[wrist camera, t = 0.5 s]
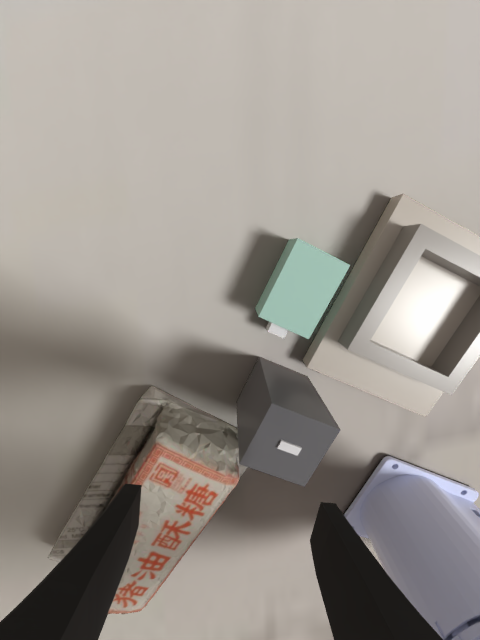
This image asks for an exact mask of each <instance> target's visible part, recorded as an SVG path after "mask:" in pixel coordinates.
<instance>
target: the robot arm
mask: <svg viewBox="0 0 480 640" xmlns="http://www.w3.org/2000/svg"><path fill="white" fill-rule="evenodd" d="M141 488H142V485H135V484H125V485H123V486H122V487H121V489H120V490H119V492H118V493H117V494H116V496H115V497H114V498H113V500H112V501H111V502H110V504H109V505H108V506H107V508H106V509H105V510H104V511H103V513H102V514H101V515H100V516H99V518H98V519H97V520H96V521H95V522H94V524H93V525H92V526H91V527H90V528H89V530H88V531H87V532H86V533H85V534H84V536H83V537H82V538H81V539H80V540H79V541H78V543H77V544H76V545H75V546H74V547H73V548H72V549H71V550H70V551H69V553H68V554H67V555H66V556H65V557H64V558H63V559H62V560H61V561H60V562H59V564H58V565H57V566H56V567H55V568H54V569H53V570H52V571H51V572H50V573H49V574H48V575H47V576H46V577H45V578H44V580H43V581H42V582H41V583H40V584H39V585H38V586H37V587H36V588H35V589H34V590H33V591H32V592H31V593H30V594H29V595H28V596H27V597H26V598H25V599H24V600H23V601H22V602H21V603H20V604H19V605H18V606H17V607H16V608H15V609H14V610H13V611H11V612H10V613H9V614H8V615H7V616H6V617H5V618H4V619H3V620H2V621H1V622H0V640H98V638H99V635H100V633H101V630H102V628H103V625H104V622H105V620H106V617H107V615H108V612H109V609H110V607H111V604H112V602H113V599H114V597H115V594H116V591H117V589H118V586H119V584H120V581H121V578H122V576H123V573H124V571H125V568H126V565H127V563H128V560H129V557H130V554H131V550H132V547H133V544H134V540H135V537H136V533H137V530H138V526H139V515H140V501H141ZM478 495H479V494H478V492H477V491H476V490H475V489H474V488H471V487H469V486H466V485H464V484H461V483H458V482H456V481H453V480H451V479H448V478H445V477H443V476H440V475H437V474H435V473H432V472H430V471H427V470H424V469H422V468H419V467H417V466H414V465H411V464H409V463H406V462H404V461H401V460H398V459H396V458H393V457H390V456H387V457H384V458H383V459H382V461H381V462H380V464H379V465H378V466H377V468H376V469H375V471H374V472H373V474H372V475H371V477H370V478H369V479H368V481H367V482H366V484H365V485H364V487H363V488H362V489H361V491H360V492H359V494H358V495H357V497H356V498H355V500H354V501H353V502H352V504H351V505H350V507H349V508H348V510H347V511H346V513H345V514H344V515H343V513H342V512H341V511H340V509H339V508H338V507H337V505H336V504H333V503H323V502H321V504H320V507H319V511H318V514H317V518H316V521H315V525H314V528H313V532H312V535H311V539H310V543H311V549H312V555H313V561H314V566H315V571H316V576H317V579H318V583H319V587H320V590H321V594H322V598H323V601H324V605H325V608H326V612H327V616H328V619H329V623H330V626H331V630H332V633H333V637H334V640H480V509H479V508H478V507H477V506H476V505H475V504H474V501H475V500H476V499H477V498H478ZM358 535H359V536H362V537H365V538H368V539H370V541H371V543H372V545H373V547H374V549H375V551H376V553H377V555H378V557H379V560H380V562H381V564H382V566H383V568H384V569H383V568H382V566H381V565H380V564H379V562H378V561H377V560H376V559H375V557H374V556H373V555H372V553H371V552H370V551H369V549H368V548H367V547H366V545H365V544H364V543H363V541H362V540H361V538H360V537H359V536H358Z"/></svg>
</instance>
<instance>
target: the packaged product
mask: <svg viewBox="0 0 480 640" xmlns="http://www.w3.org/2000/svg"><path fill="white" fill-rule="evenodd" d="M246 469H247V467H246V466H243V465H240V464H239V448H238V428H236V427H234V426H232V425H230V424H228V423H226V422H224V421H222V420H220V419H218V418H216V417H214V416H212V415H211V414H208V413H206V412H204V411H202V410H199V409H198V408H196V407H194V406H192V405H190V404H188V403H186V402H184V401H182V400H180V399H178V398H176V397H174V396H172V395H170V394H168V393H166V392H164V391H162V390H160V389H158V388H156V387H154V386H151V387H150V388H149V389H148V390H147V391H146V392H145V393H144V395H143V396H142V397H141V398H140V399H139V401H138V402H137V404H136V405H135V407H134V409H133V411H132V413H131V415H130V417H129V419H128V420H127V422H126V424H125V426H124V428H123V429H122V431H121V433H120V434H119V436H118V437H117V439H116V441H115V442H114V444H113V445H112V447H111V449H110V450H109V452H108V454H107V456H106V457H105V459H104V461H103V463H102V465H101V467H100V469H99V470H98V472H97V473H96V475H95V476H94V478H93V479H92V481H91V483H90V484H89V486H88V487H87V489H86V491H85V493H84V495H83V497H82V498H81V500H80V502H79V503H78V505H77V507H76V509H75V510H74V512H73V514H72V515H71V517H70V519H69V520H68V522H67V524H66V525H65V527H64V529H63V530H62V532H61V534H60V536H59V538H58V539H57V541H56V543H55V545H54V547H53V549H52V551H51V553H50V555H49V557H48V558H49V559H51V560H54V561H57V562H60V561H61V560H62V559H63V558H64V557H65V556H66V555H67V554H68V553H69V551H70V550H71V549H72V548H73V547H74V546H75V545H76V544H77V543H78V541H79V540H80V539H81V538H82V537H83V536H84V534H85V533H86V532H87V531H88V530H89V528H90V527H91V526H92V525H93V524H94V522H95V521H96V520H97V519H98V518H99V516H100V515H101V514H102V513H103V511H104V510H105V509H106V508H107V506H108V505H109V504H110V502H111V501H112V500H113V498H114V497H115V496H116V494H117V493H118V492H119V490H120V489H121V487H122V486H123V485H125V484H135V485H142V488H141V501H140V515H139V526H138V530H137V533H136V537H135V540H134V544H133V547H132V550H131V554H130V557H129V560H128V563H127V565H126V568H125V571H124V573H123V576H122V578H121V581H120V584H119V586H118V589H117V591H116V594H115V597H114V599H113V602H112V604H111V607H110V609H109V612H108V614H112V613H115V614H119V613H121V614H126V613H132V612H138V611H141V610H142V609H143V608H144V607H145V606H146V605H147V604H148V602H149V601H150V600H151V599H152V597H153V596H154V595H155V594H156V593H157V591H158V589H159V588H160V587H161V585H162V584H163V583H164V581H165V580H166V579H167V577H168V576H169V575H170V573H171V572H172V571H173V569H174V568H175V566H176V565H177V564H178V563H179V561H180V560H181V558H182V557H183V556H184V555H185V553H186V552H187V550H188V549H189V548H190V546H191V545H192V543H193V542H194V541H195V539H196V538H197V537H198V535H199V534H200V533H201V532H202V530H203V529H204V528H205V526H206V525H207V523H208V522H209V521H210V520H211V518H212V517H213V516H214V514H215V513H216V511H217V510H218V509H219V507H220V506H221V505H222V504H223V503H224V501H225V499H226V498H227V496H228V495H229V494H230V492H231V491H232V490H233V489H234V488H235V486H236V485H237V483H238V482H239V478H240V477H241V475H242V474H243V473H244V471H245V470H246Z"/></svg>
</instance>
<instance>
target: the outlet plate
mask: <svg viewBox="0 0 480 640" xmlns="http://www.w3.org/2000/svg"><path fill="white" fill-rule="evenodd" d="M479 357H480V236H479V235H477V234H475V233H473V232H471V231H470V230H468V229H466V228H464V227H462V226H461V225H459V224H457V223H455V222H453V221H452V220H450V219H448V218H446V217H444V216H443V215H441V214H439V213H437V212H435V211H434V210H432V209H430V208H428V207H426V206H425V205H423V204H421V203H419V202H417V201H416V200H414V199H412V198H410V197H408V196H407V195H405V194H401V195H398V196H395V197H392V198H391V199H390V201H389V203H388V205H387V207H386V208H385V210H384V212H383V214H382V216H381V218H380V219H379V221H378V223H377V225H376V227H375V229H374V230H373V232H372V234H371V236H370V238H369V239H368V241H367V243H366V245H365V247H364V249H363V250H362V252H361V254H360V256H359V258H358V260H357V261H356V263H355V265H354V267H353V269H352V271H351V272H350V274H349V276H348V278H347V280H346V282H345V283H344V285H343V287H342V289H341V291H340V292H339V294H338V296H337V298H336V300H335V302H334V303H333V305H332V307H331V309H330V311H329V313H328V314H327V316H326V318H325V320H324V322H323V324H322V325H321V327H320V329H319V331H318V333H317V335H316V336H315V338H314V340H313V342H312V344H311V345H310V347H309V349H308V351H307V353H306V355H305V356H304V358H303V360H302V361H303V362H304V364H305V365H306V367H307V368H309V369H312V370H314V371H317V372H319V373H321V374H324V375H326V376H328V377H331V378H333V379H336V380H338V381H340V382H343V383H345V384H348V385H350V386H352V387H355V388H357V389H360V390H362V391H364V392H367V393H369V394H372V395H374V396H376V397H379V398H381V399H383V400H386V401H388V402H391V403H393V404H395V405H398V406H400V407H403V408H405V409H407V410H410V411H412V412H415V413H417V414H419V415H422V416H424V417H426V416H427V415H428V413H429V412H430V411H431V409H432V408H433V406H434V405H435V403H436V402H437V401H438V399H439V398H440V396H441V395H442V394H443V392H445V393H447V394H449V395H452V394H453V393H454V391H455V390H456V389H457V387H458V386H459V384H460V383H461V382H462V380H463V379H464V378H465V376H466V375H467V373H468V372H469V371H470V369H471V368H472V366H473V365H474V364H475V362H476V361H477V359H478V358H479Z"/></svg>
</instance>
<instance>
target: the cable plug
mask: <svg viewBox="0 0 480 640" xmlns="http://www.w3.org/2000/svg"><path fill="white" fill-rule="evenodd" d="M349 267H350V265H349V264H347V263H345V262H343V261H341V260H339V259H337V258H335V257H333V256H332V255H330V254H328V253H326V252H324V251H322V250H320V249H318V248H316V247H314V246H312V245H310V244H308V243H306V242H304V241H302V240H300V239H298V238H296V239H290V240H289V241H288V243H287V245H286V247H285V249H284V251H283V253H282V255H281V257H280V259H279V261H278V263H277V265H276V267H275V269H274V271H273V273H272V275H271V277H270V279H269V281H268V283H267V285H266V287H265V289H264V291H263V293H262V295H261V297H260V299H259V302H258V304H257V306H256V308H255V309H256V312H257V314H258V317H260V318H263V319H265V320H267V321H269V323H268V325H267V327H266V329H267V331H268V332H270V333H272V334H274V335H277V336H279V337H281V338H283V339H284V338H285V336H286V334H287V332H288V330H289V331H291V332H294V333H296V334H298V335H300V336H302V337H305V338H307V339H309V338H310V336H311V335H312V333H313V331H314V329H315V327H316V326H317V324H318V322H319V320H320V319H321V317H322V315H323V313H324V311H325V310H326V308H327V306H328V304H329V303H330V301H331V299H332V297H333V295H334V294H335V292H336V290H337V288H338V287H339V285H340V283H341V281H342V279H343V278H344V276H345V274H346V272H347V270H348V269H349Z"/></svg>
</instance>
